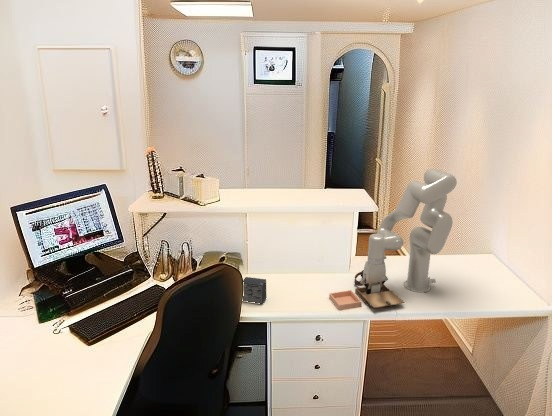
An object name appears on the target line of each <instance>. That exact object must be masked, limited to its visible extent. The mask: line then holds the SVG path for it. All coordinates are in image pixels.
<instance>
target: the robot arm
mask: <svg viewBox="0 0 552 416" xmlns="http://www.w3.org/2000/svg"><path fill="white" fill-rule="evenodd" d="M423 181H424V182H421V181H419V180H413V181H410V182H408V184H407V186H406V187H405V189H404V192H403V193H402V196H401V199H400V200H399V202H398V204H397V207H395V209H394V210H393V211H392V212H390V213H388V215H386V216H385V217H384V218H383V220H382V221H381V223H380V225H379V227H378V229H377V232H376V233H372V234H370V235H369V237H368V247H367V249H368V251H367V261H365V264H364V267H363V270H364V271H363V279H362V278H361V280H359V281H360V283H361V284H363V287H366V294H371V289H370V287H371V284H372V283H377V282H378V283H379V284H380V285H381V286H380V292H381V287H382V286H383V284H384V285H385V283H386V282H387V281H388V280H389V278H388V276H387V273H386V271H387V270H386V263H385V260H386V259H387V256H386V255H385V254H386V253H385V251H398V250H401V249H402V247H403V246H404V240H403V238H402V237H401V236H400V235H398V234H397V233H396V232H394V231H392V230H393V229H394V227H395V225H396V224H397V223H399V222H400V221H403V220H406V219H412V218H413V217H414V216H415V215H416V212H417V209H418V208H419V206H420V204H424V206H423V208H422V210H421V214H420V217H419V218H420V219H419V220H420V222H421V223H422V224H423V225H425V226H427V227H428V228H430V229H431V230H430V229H428V228H426V227H424V226H416V227H414V228H413V229H412V230H410V233H409V236H408V238H409V239H408V241H409V250H410V251H409V257H408V268H407V270H408V271H407V279H406V280H405V281H404V282H403V287H404V288H405V289H406V290H408V291H411V292H415V293H424V294H425V293H427V292H429V291H430V290H431V286H430V284H433V283H434V284H435V283H436V279H435V278H431V277H429V271H430V261H431V255H436V254H439V253H440V252H441V251H442V250H443V248H444V247H445V244H446V242H447V240H448V237H449V236H450V232H451V230H452V227H453V218H452V215H450V213H448V212H446V211H444V209H445V207H446V203H447V201H448V200H447V199H448V195H449V194H450V193H451V192H453V191H454V189H455V188H456V187H457V184H458V182H457V178H456V176H455V175H453V174H451V173H448V172H445V171H443V170H439V169H436V168H428V169H426V170H425V172H424V174H423ZM365 281H366V283H365Z"/></svg>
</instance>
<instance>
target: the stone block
mask: <svg viewBox="0 0 552 416" xmlns="http://www.w3.org/2000/svg"><path fill="white" fill-rule="evenodd" d="M380 286H381V285H380V284H379V283H378V282H377V283H372V284H371V287H370V289H371V294H373V293H379V292H380Z"/></svg>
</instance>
